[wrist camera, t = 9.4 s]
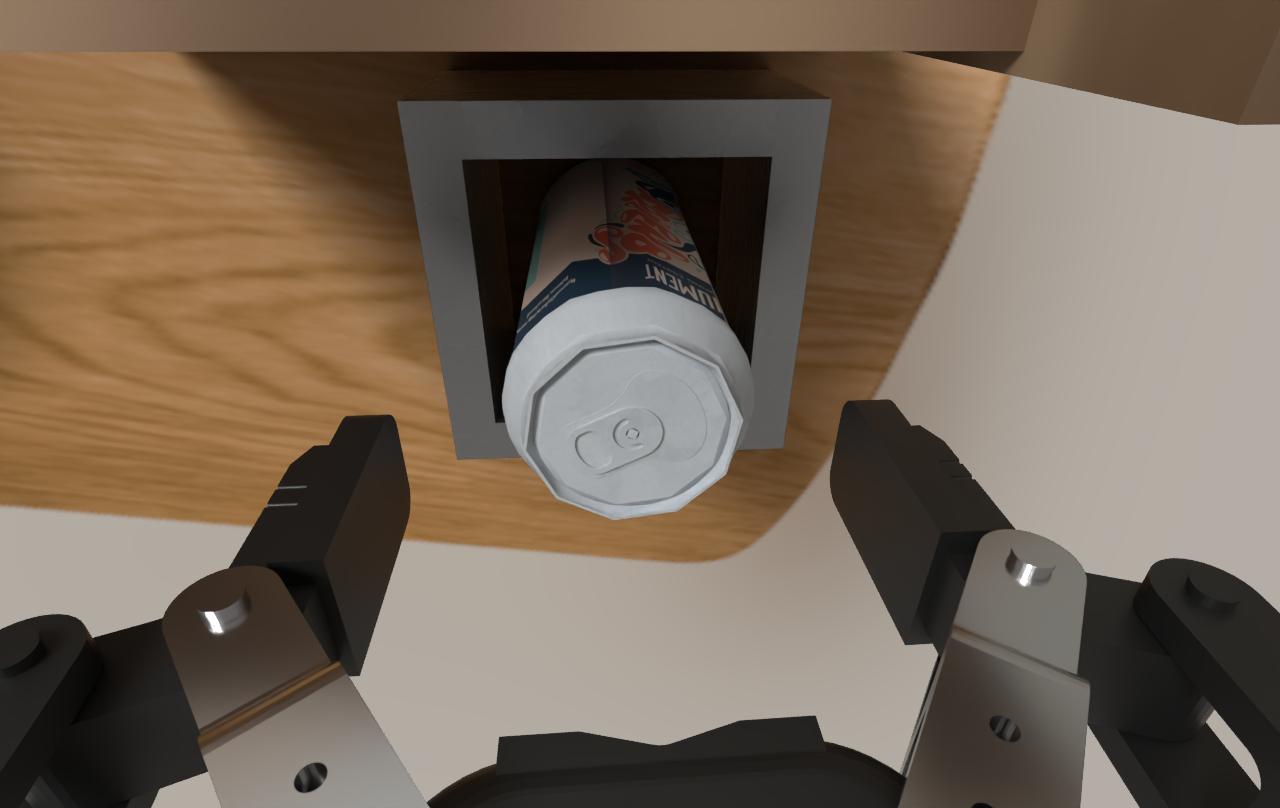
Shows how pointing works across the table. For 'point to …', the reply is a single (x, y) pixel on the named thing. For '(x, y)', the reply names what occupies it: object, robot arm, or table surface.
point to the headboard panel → (736, 35)
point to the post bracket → (612, 128)
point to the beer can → (623, 350)
